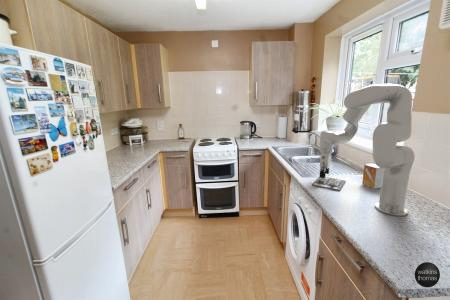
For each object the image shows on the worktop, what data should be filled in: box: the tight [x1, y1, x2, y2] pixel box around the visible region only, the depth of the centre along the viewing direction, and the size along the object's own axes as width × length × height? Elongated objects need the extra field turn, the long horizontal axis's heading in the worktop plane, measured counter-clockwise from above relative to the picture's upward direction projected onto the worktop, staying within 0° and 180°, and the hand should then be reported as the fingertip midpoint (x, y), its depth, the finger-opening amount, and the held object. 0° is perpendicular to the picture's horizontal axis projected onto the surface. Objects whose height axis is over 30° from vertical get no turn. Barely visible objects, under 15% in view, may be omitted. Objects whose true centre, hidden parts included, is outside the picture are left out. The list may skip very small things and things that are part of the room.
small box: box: [362, 163, 384, 190], centre depth 131 cm, size 8×6×13 cm
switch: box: [330, 176, 338, 187], centre depth 131 cm, size 3×3×5 cm
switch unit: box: [311, 175, 346, 192], centre depth 137 cm, size 18×16×2 cm
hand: (324, 175), depth 140 cm, fingers open, 9 cm apart
